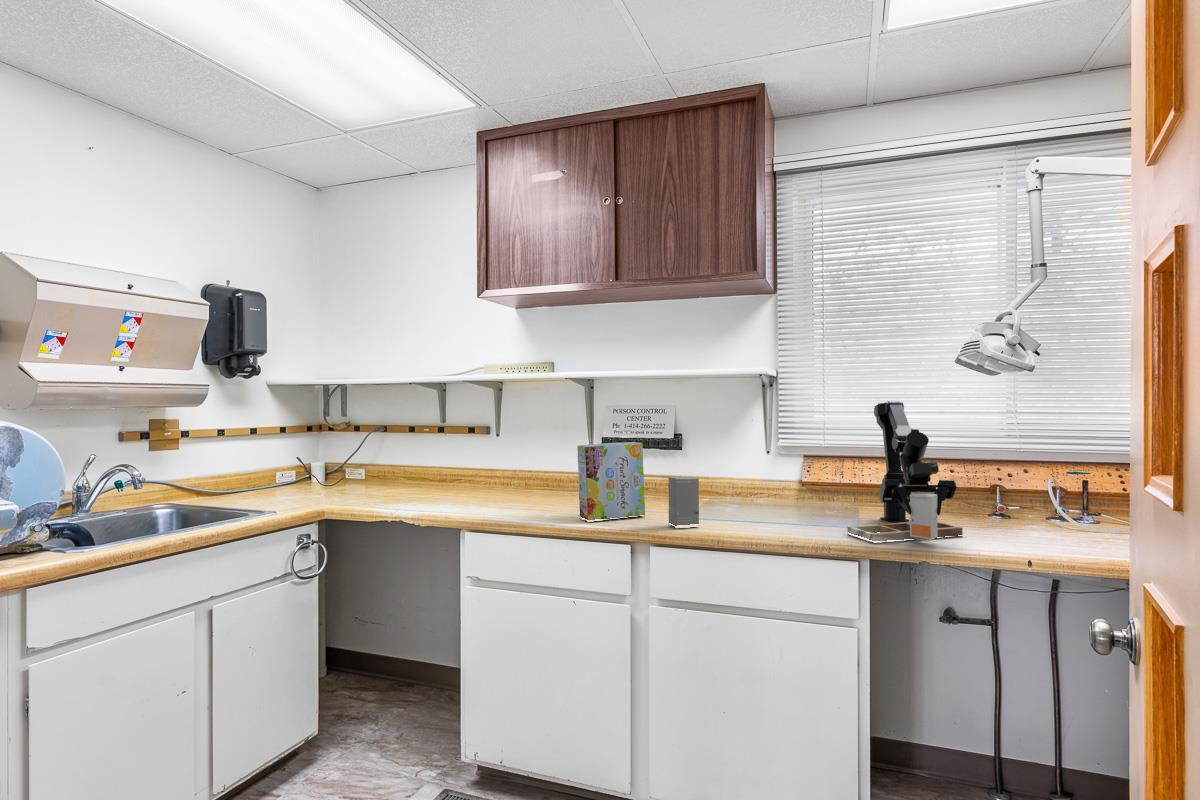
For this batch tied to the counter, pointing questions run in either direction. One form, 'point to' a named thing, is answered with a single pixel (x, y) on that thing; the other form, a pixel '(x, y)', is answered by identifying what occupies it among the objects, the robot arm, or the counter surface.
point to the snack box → (611, 480)
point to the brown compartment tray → (898, 531)
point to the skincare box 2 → (923, 515)
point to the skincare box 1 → (683, 500)
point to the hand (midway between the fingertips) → (924, 514)
